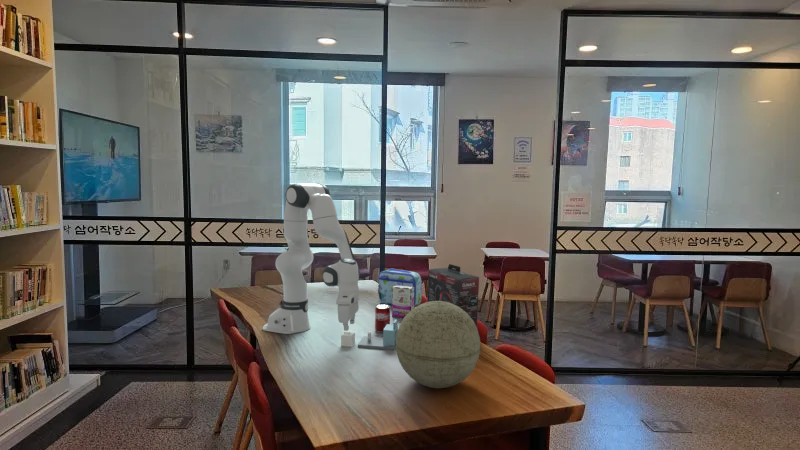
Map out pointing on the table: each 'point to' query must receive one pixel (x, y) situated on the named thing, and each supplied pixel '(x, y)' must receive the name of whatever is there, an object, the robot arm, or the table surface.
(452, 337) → the celestial globe
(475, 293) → the headset box
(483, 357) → the table surface
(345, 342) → the jaw
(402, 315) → the candy bar box
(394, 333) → the cover
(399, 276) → the lunch box
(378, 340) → the plate
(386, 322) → the soda can
